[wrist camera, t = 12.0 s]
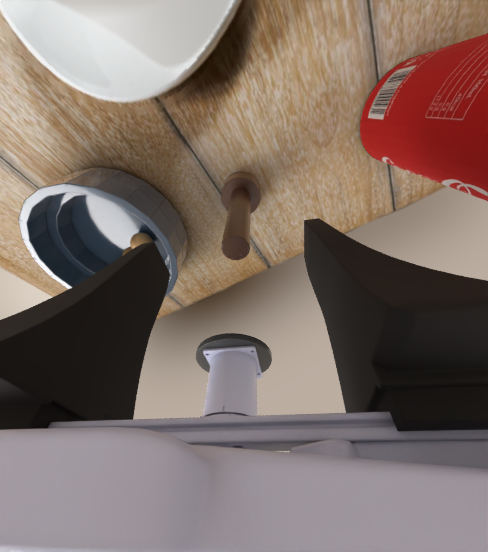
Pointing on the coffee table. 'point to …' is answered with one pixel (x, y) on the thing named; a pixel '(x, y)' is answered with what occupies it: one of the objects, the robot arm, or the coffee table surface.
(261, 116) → the coffee table surface
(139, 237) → the bead
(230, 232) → the muddler
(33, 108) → the coffee table surface
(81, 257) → the bowl
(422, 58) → the beverage can
